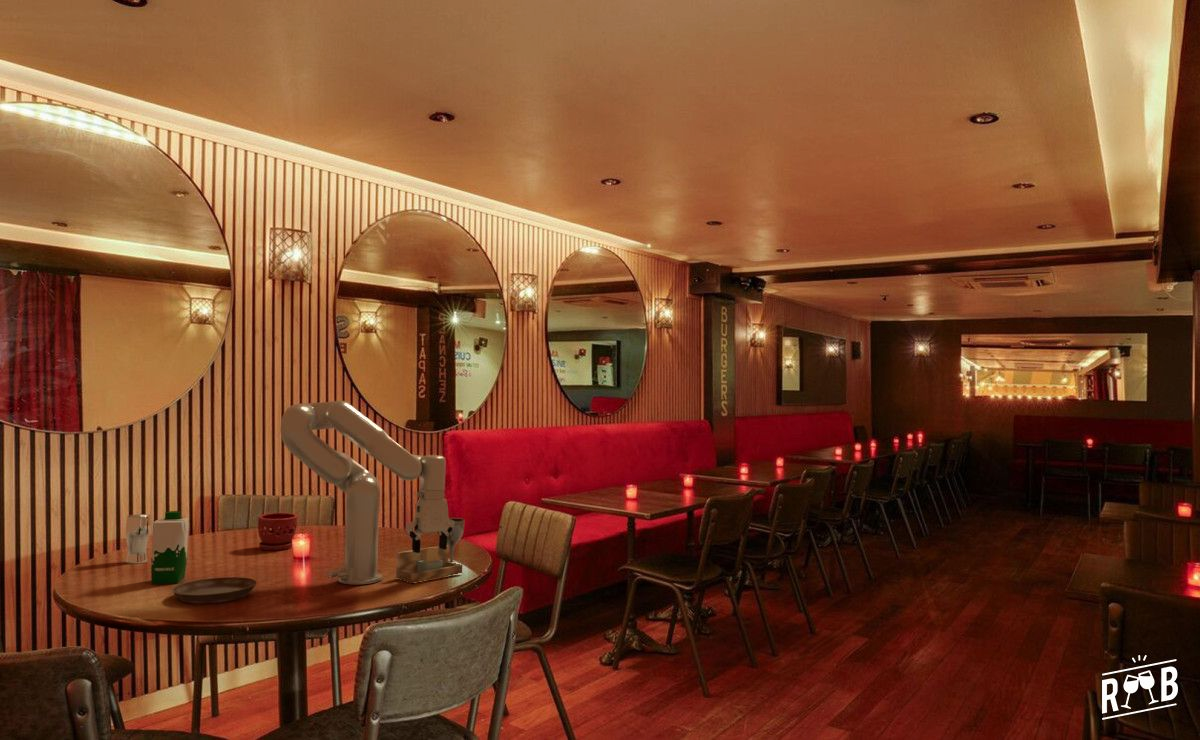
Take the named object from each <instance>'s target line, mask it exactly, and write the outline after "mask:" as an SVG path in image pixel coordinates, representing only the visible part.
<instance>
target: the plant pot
mask: <svg viewBox="0 0 1200 740" xmlns="http://www.w3.org/2000/svg"><path fill="white" fill-rule="evenodd" d="M297 526H298V515H297V514H295V513H289V512H272V513H271V512H270V513H264V514H260V515H259V516H258V518H257V530H258V531H257V532H258V535H259V536H258V537H259V539H260V540H261V541H260V542H259V543H258V545H259V547H260V548H261V549H263V550H265V551H282V549H283V550H288V549H291V548H292V541H293V539H294V537H295V534H296V531H297ZM292 538H293V539H292ZM287 548H288V549H287Z"/></svg>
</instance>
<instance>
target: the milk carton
mask: <svg viewBox="0 0 1200 740" xmlns="http://www.w3.org/2000/svg"><path fill="white" fill-rule="evenodd" d="M164 515H165V516H164V518H159V519H157V520H155V521H153V522H152V540H151V556H150V557H151V558H150V559H151V560H150V561H151V562H150V563H151V564H150V567H151V568H150V569H151V573H150V574H151V575H150V579H151V580H150V582H151V585H167V584H170V585H171V584H173V585H174V584H179V583H180V582H181V581H183V580H184V579H185V576H186V569H187V562H188V561H187V559H188V541H189V540H188V539H189V537H188V536H189V517H182V516H181V515H182V512H181V511H178V510H173V511H172V510H169V511H166V512H165V513H164Z"/></svg>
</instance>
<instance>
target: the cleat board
mask: <svg viewBox="0 0 1200 740" xmlns="http://www.w3.org/2000/svg"><path fill="white" fill-rule="evenodd" d="M436 547H437V548H438V560H442V561H443V568H439V569H433V570H428V571H422V572H417V561H421V560H423V548H420V553H415V552H413V550H412V549H411V550H404V551H398V552H396V567H395V568H396V571H395V572H396V573H395V574H396V576H395V579H396V578H399V579H401V580H400V581H402V580H405V581H408V582H411V583H414V582H419V581H424V580H429V579H433V578H439V577H444V576H448V575H453V574H458V573H462V574H463V564H462V565H460V564H456V563H452V562H449V561H450V560H449V556H450V554H449V553H450V548H449V545H448V544H447V549H441V548H439V545H438V546H436ZM405 581H404V582H405ZM408 582H407V583H408ZM411 583H410V584H411Z"/></svg>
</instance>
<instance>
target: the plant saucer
mask: <svg viewBox="0 0 1200 740" xmlns="http://www.w3.org/2000/svg"><path fill="white" fill-rule="evenodd" d="M257 583H258V582H257V580H256V579H253V578H249V577H242V576H241V577H240V576H239V577H237V576H228V577H226V576H225V577H224V576H222V577H213V578H206V579H205V578H204V579H198V580H197V579H196V580H194V581H193V580H191V581H188V582H183V583H181V584H178V585H176V586H174V587H173V588H171V589H172V590H171V591H172V594H174V595H175V597H177V599H179V600H180V601H182V602H184V603H187V604H188V603H189V604H196V605H197V604H199V605H200V604H201V605H202V604H203V605H206V604H217V603H226V602H230V601H235V600H238V599H241V598H243V597H245V596H247V595H248V594H249V593H250V592H251V591H252V590H253V589H254V588H255V586H256V585H257Z"/></svg>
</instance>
